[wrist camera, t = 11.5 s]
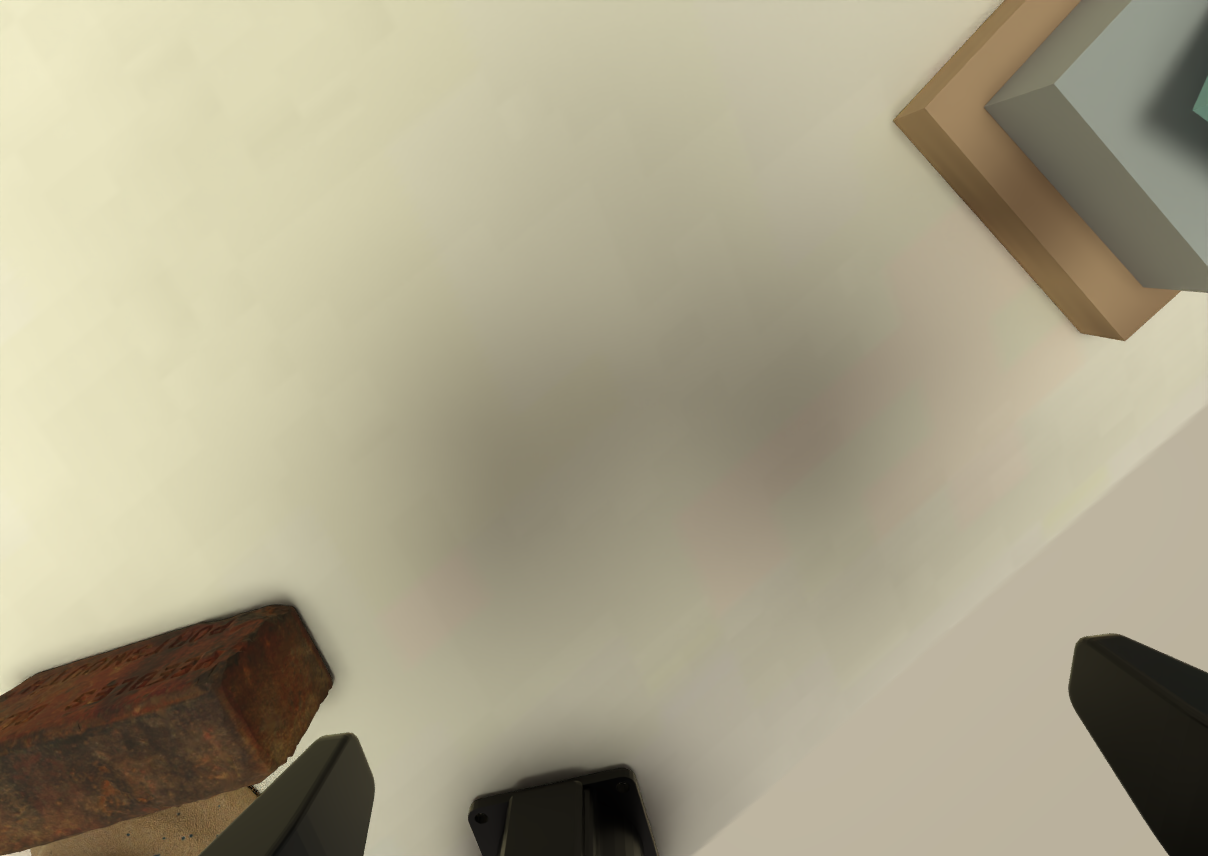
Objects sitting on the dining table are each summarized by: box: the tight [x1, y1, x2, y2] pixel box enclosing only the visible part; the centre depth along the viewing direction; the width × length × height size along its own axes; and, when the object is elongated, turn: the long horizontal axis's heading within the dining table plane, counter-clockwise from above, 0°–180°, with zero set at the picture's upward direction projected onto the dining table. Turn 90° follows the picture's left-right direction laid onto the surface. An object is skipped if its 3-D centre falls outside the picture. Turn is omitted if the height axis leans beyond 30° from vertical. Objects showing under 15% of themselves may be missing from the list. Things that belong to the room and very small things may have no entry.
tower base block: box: [893, 0, 1181, 341], centre depth 17 cm, size 9×9×2 cm
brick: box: [0, 605, 333, 855], centre depth 20 cm, size 11×4×5 cm, turn 108°
